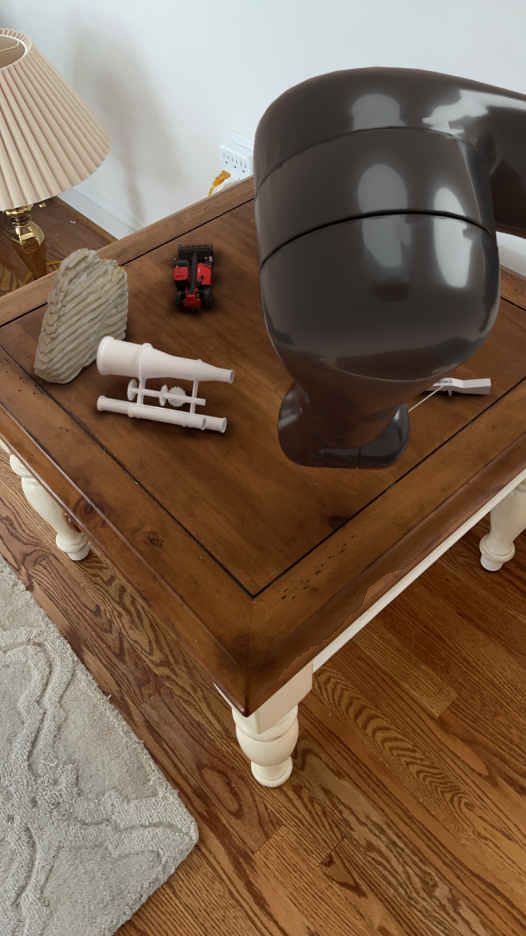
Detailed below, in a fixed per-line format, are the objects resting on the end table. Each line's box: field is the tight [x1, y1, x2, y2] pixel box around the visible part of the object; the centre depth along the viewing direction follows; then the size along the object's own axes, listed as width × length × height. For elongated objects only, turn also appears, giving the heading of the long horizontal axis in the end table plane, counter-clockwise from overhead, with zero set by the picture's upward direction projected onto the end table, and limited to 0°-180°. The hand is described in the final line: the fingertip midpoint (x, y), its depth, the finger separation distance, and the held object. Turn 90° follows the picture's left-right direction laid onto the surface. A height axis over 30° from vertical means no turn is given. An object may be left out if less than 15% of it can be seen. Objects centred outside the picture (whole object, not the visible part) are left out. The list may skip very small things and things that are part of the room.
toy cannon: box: [96, 336, 235, 434], centre depth 78 cm, size 8×14×5 cm
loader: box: [172, 241, 216, 310], centre depth 90 cm, size 12×5×5 cm, turn 1°
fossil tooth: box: [33, 247, 130, 384], centre depth 82 cm, size 12×6×15 cm
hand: (347, 196), depth 80 cm, fingers open, 8 cm apart
